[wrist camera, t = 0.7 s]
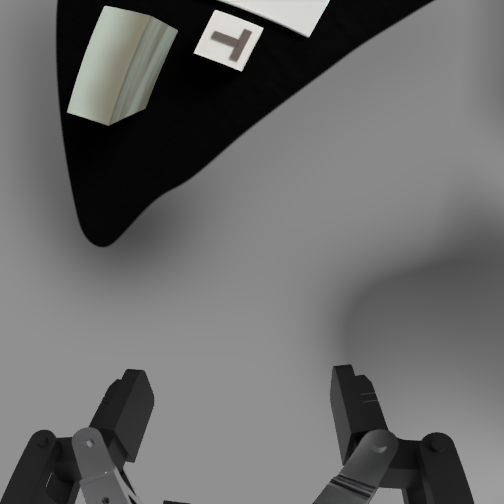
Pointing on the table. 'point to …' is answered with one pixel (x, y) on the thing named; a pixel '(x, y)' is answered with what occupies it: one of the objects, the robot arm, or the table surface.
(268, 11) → the mat
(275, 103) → the table surface
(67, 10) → the table surface
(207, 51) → the letter cube
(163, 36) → the pale green rectangular block
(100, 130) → the table surface
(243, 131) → the table surface
